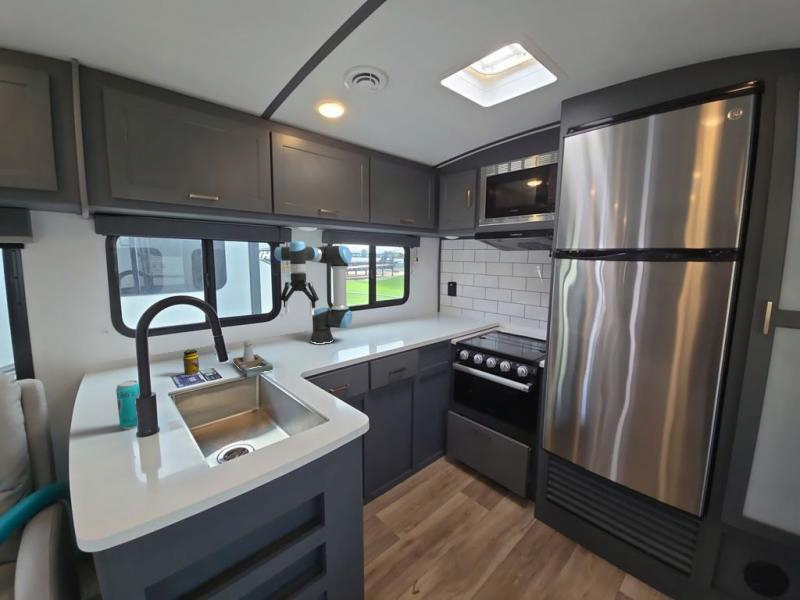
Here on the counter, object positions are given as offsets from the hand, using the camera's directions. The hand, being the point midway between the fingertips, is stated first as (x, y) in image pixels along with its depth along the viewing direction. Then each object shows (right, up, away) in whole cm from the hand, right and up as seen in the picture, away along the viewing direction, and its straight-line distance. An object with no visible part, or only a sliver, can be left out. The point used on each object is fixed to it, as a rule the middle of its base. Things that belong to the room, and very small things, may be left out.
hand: (299, 314), depth 162 cm
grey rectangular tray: (-25, -28, +2) cm, 38 cm away
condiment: (-51, -29, -9) cm, 59 cm away
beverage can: (-39, -35, -56) cm, 77 cm away
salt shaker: (-29, -27, +7) cm, 41 cm away
